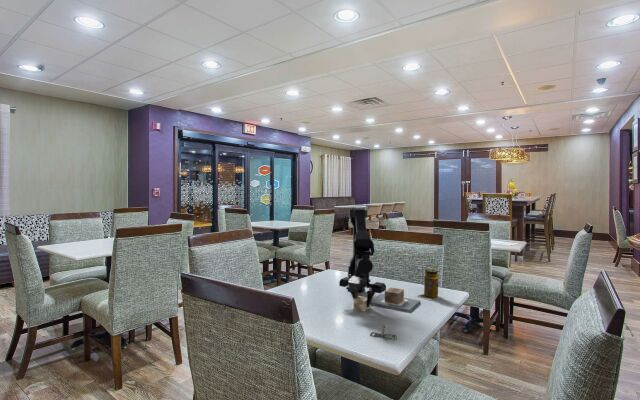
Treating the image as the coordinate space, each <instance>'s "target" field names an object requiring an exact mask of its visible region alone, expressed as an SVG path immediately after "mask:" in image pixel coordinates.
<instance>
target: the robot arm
mask: <svg viewBox="0 0 640 400" xmlns="http://www.w3.org/2000/svg"><path fill="white" fill-rule="evenodd" d="M348 218H349V221H350V223H351V225H352V235H353V236H352V257H351V259H350V260H349V265H348V266H347V276H345V277H343V278H341V279H339V281H338V283H339V284H338V285H339V287H342V288H346V290H347V292H350V294H351V297H352V300H353V301H354V298H356V297H358V296H359V294H360V293H362V292H364V291H366V289H368V290H367V291H366V297H367V307H369V305H370V303H371V300H372V299H373V298H374V297H375V294H383V293H385V291H386V290H387V285H386V283H384V282H379V281H376V282H373V283H371V279H370V273H371V272H372V271H373V268H374V264H373V262H372V260H371V259H370V257H371V256H374V254H375V243H374V242H373V240H372V239H371V235H370V233H369V232H368V231H367V224H366V219H368V209H365V208H364V207H351V209H349V210H348ZM370 306H371V305H370Z"/></svg>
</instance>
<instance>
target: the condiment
mask: <svg viewBox="0 0 640 400" xmlns="http://www.w3.org/2000/svg"><path fill="white" fill-rule="evenodd" d="M438 274H439V273H438V270H436V269H426V270H425V275H424V282H423V285H424V286H423V288H424V289H423V293H422V294H418V295H416V296H417V297H420V298H422V299H424V300H428V301H432V300H437V299H440V298H442V296H440V295H439V277H438Z"/></svg>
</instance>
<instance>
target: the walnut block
mask: <svg viewBox="0 0 640 400" xmlns="http://www.w3.org/2000/svg"><path fill="white" fill-rule="evenodd" d="M384 294H385V302H388V303H393V304H399V303H401V302H402V301H403V300H404V298H405V289H401V288H396V287H389V288H386V290H385V291H384Z"/></svg>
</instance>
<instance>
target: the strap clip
mask: <svg viewBox="0 0 640 400" xmlns="http://www.w3.org/2000/svg"><path fill="white" fill-rule="evenodd" d="M385 329H386V323H382V328H381V333H380V332H373V331H372V332H371V333H370V334H369V336H370V337H374V338H379V337H381V338H384V339H385V338H386V339H385V340H391V339H393V340H392V341H396V340H397V335H396V334H393V333H387V332H386V333H385ZM374 333H375V334H374ZM393 336H394V337H393ZM395 339H396V340H395Z"/></svg>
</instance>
